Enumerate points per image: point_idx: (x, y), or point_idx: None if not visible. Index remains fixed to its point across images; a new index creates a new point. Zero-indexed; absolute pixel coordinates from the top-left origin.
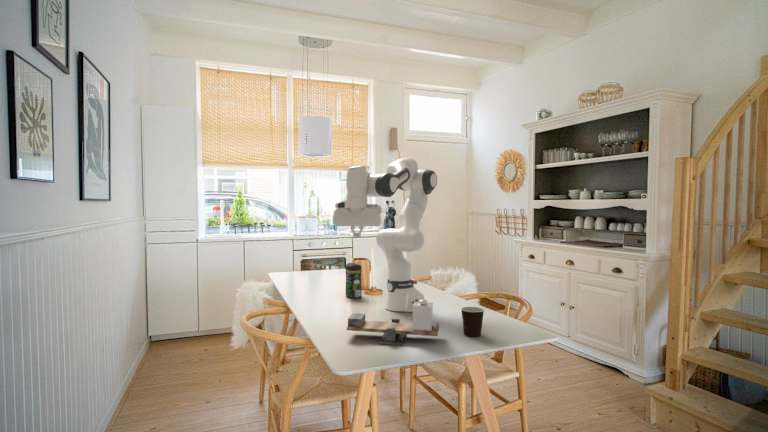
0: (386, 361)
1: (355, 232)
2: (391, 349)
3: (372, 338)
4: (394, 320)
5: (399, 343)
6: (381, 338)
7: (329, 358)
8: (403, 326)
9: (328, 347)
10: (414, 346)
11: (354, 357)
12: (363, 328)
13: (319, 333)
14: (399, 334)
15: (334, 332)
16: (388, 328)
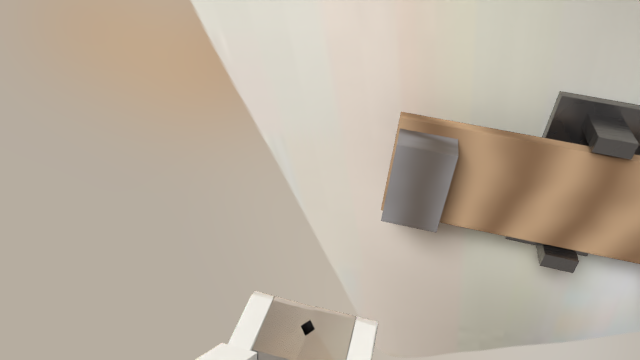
0: (509, 342)
1: (254, 356)
2: (541, 273)
3: None
4: (605, 153)
5: (579, 253)
6: None
7: (354, 307)
8: (630, 210)
9: (336, 239)
10: None
11: (420, 310)
12: (447, 223)
13: (274, 109)
14: None
15: (329, 99)
16: (548, 261)
